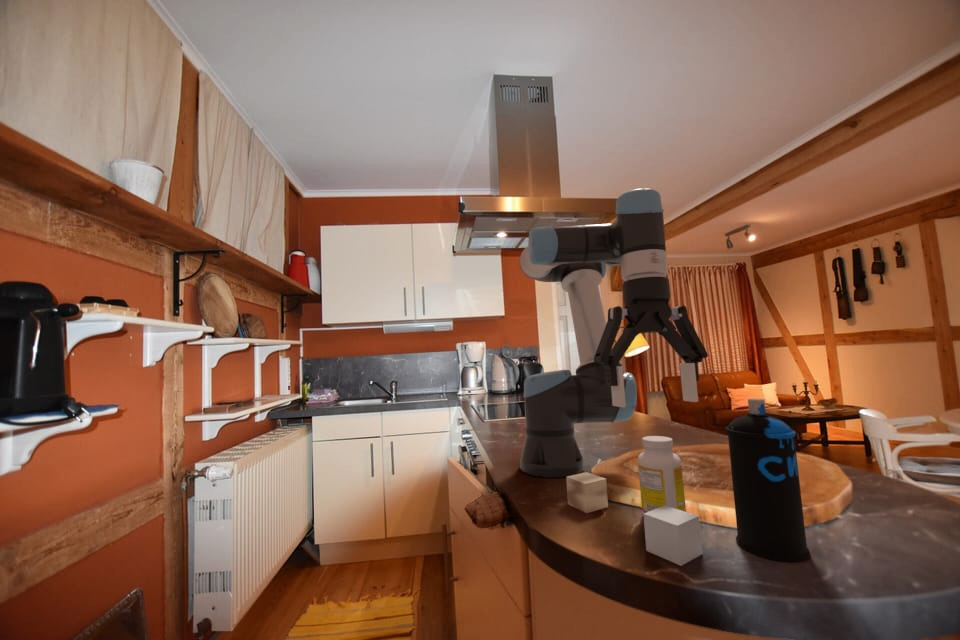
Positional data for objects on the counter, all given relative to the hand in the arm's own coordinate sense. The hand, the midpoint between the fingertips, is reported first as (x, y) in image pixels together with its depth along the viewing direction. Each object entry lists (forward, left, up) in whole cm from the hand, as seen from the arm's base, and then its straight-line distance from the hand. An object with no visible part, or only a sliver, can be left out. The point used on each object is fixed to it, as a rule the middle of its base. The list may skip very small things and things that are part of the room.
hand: (655, 404), depth 67 cm
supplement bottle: (0, 0, -19) cm, 19 cm away
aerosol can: (+12, +7, -19) cm, 24 cm away
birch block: (-9, -9, -19) cm, 23 cm away
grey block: (+10, -6, -19) cm, 22 cm away
